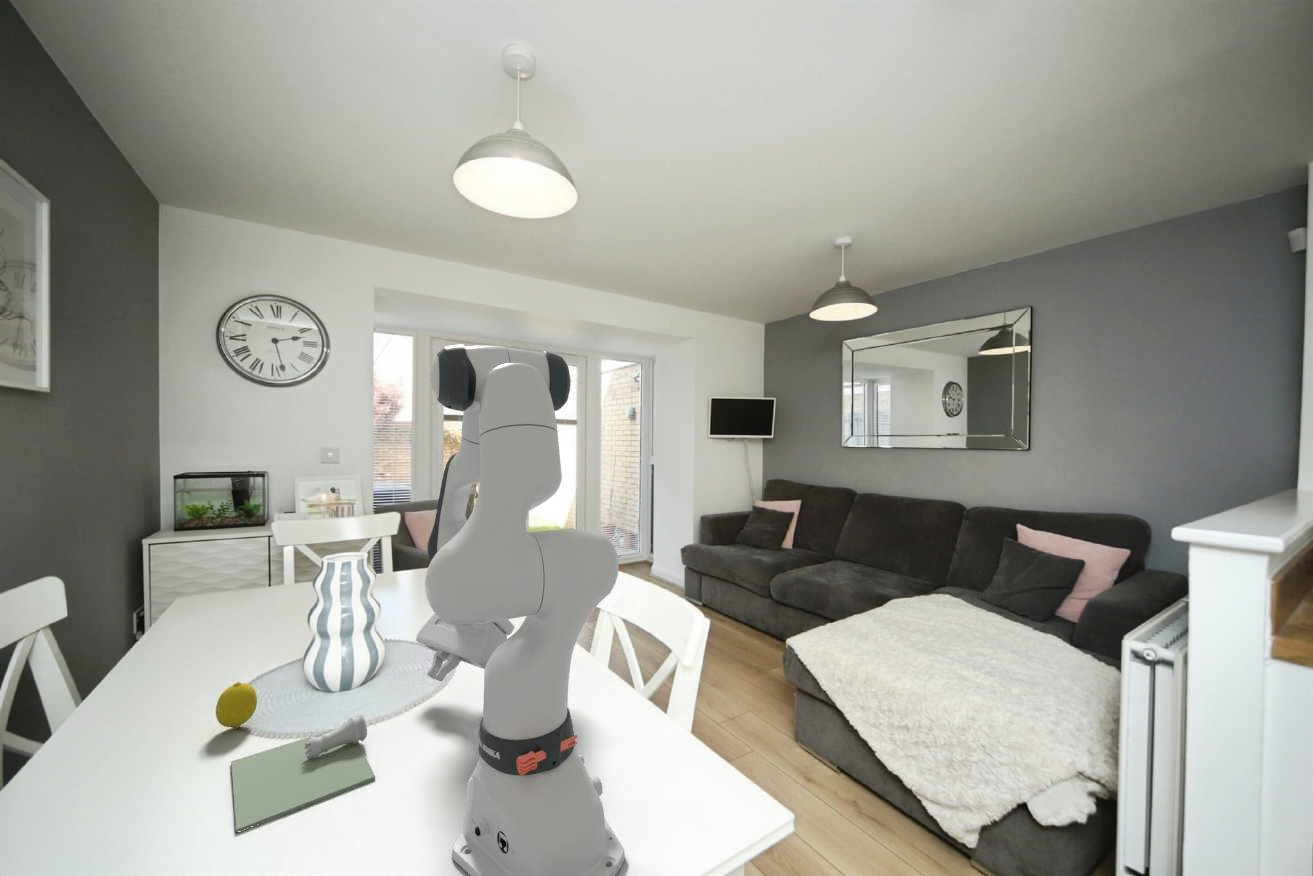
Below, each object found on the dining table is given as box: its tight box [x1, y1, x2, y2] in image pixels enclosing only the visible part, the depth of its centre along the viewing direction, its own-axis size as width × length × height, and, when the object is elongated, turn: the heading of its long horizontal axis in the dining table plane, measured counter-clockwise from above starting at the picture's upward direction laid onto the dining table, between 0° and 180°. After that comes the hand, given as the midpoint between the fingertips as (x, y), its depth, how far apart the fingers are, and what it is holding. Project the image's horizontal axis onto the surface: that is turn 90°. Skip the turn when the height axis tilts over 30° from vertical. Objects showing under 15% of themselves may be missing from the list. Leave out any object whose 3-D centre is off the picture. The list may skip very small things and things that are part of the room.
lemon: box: [215, 681, 258, 730], centre depth 87 cm, size 6×6×8 cm
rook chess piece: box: [305, 713, 368, 759], centre depth 81 cm, size 4×4×8 cm
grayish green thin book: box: [230, 727, 376, 833], centre depth 76 cm, size 18×16×1 cm
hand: (433, 678), depth 94 cm, fingers closed
